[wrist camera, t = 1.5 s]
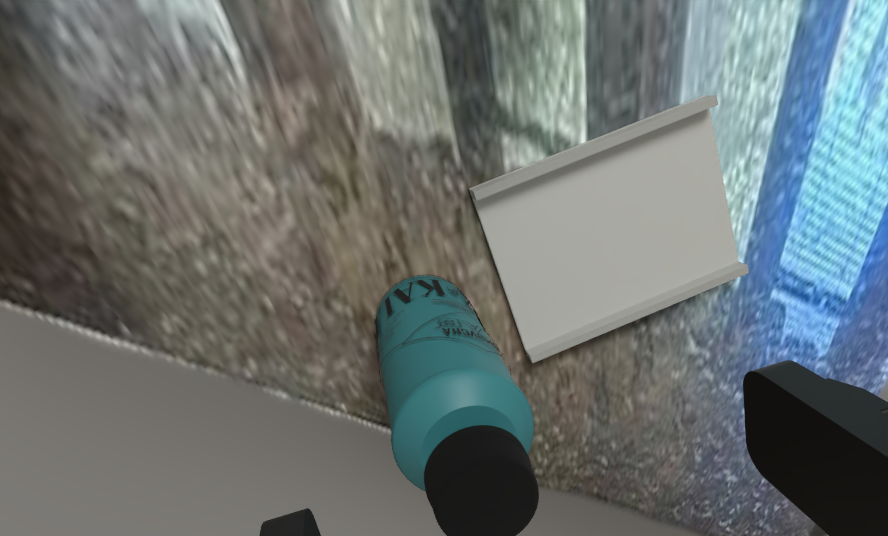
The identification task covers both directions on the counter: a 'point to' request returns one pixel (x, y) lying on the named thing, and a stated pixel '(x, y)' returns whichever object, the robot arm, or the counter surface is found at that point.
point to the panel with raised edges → (611, 229)
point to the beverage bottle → (455, 411)
